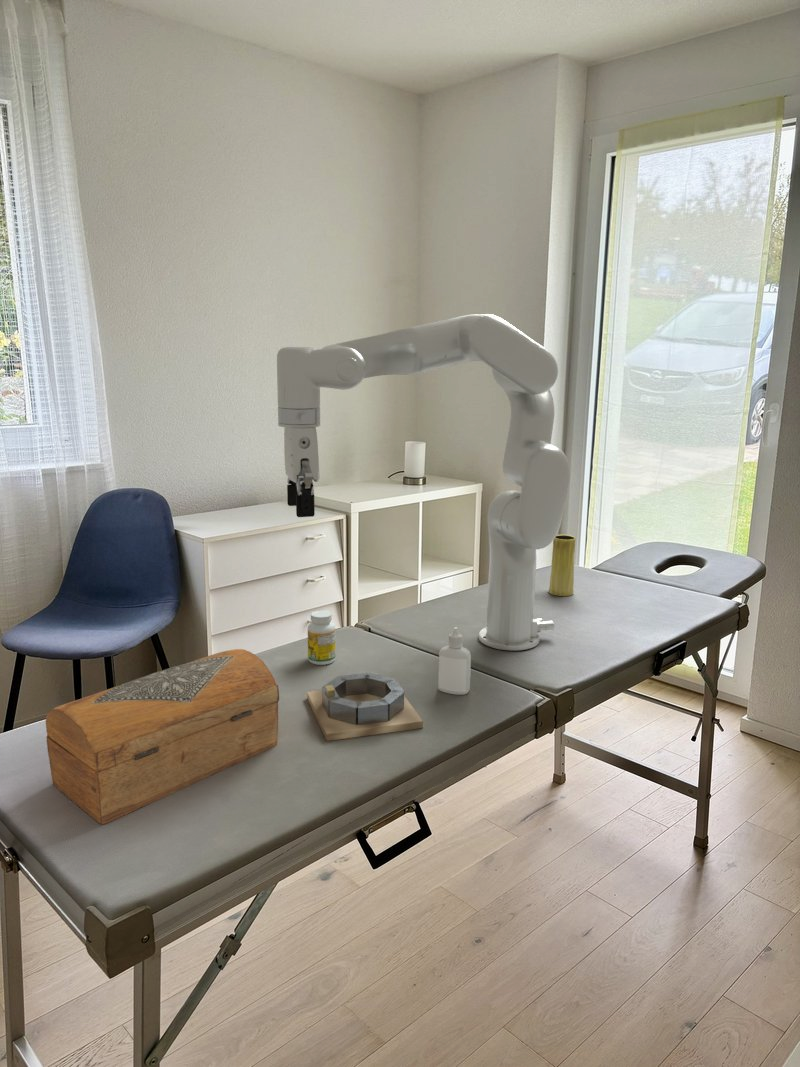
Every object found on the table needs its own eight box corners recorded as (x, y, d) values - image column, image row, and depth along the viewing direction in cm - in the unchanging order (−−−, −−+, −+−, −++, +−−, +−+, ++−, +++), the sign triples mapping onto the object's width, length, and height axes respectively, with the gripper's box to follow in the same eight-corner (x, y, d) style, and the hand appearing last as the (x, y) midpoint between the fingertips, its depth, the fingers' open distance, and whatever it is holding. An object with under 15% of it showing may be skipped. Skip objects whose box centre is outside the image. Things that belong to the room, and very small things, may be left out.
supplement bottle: (338, 664, 159) (337, 617, 157) (310, 667, 157) (310, 619, 155) (332, 653, 164) (331, 608, 162) (305, 656, 162) (304, 610, 160)
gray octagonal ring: (388, 685, 147) (389, 665, 146) (411, 718, 135) (411, 695, 134) (317, 694, 143) (316, 673, 142) (333, 728, 131) (333, 705, 130)
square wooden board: (394, 687, 149) (394, 681, 148) (422, 728, 134) (422, 721, 134) (307, 698, 144) (307, 691, 144) (326, 741, 129) (326, 734, 129)
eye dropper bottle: (456, 699, 145) (458, 635, 142) (434, 688, 149) (435, 626, 146) (473, 692, 147) (475, 629, 144) (451, 682, 151) (453, 621, 148)
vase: (575, 596, 201) (579, 540, 197) (550, 596, 201) (554, 540, 198) (570, 589, 207) (574, 534, 203) (546, 588, 207) (549, 533, 203)
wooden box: (220, 713, 139) (217, 636, 135) (282, 747, 128) (280, 664, 124) (44, 781, 117) (35, 691, 114) (101, 828, 106) (93, 731, 103)
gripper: (329, 422, 140) (330, 520, 144) (310, 412, 156) (311, 500, 160) (286, 423, 138) (287, 522, 142) (271, 413, 154) (273, 502, 158)
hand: (300, 510), depth 151 cm, fingers open, 9 cm apart
